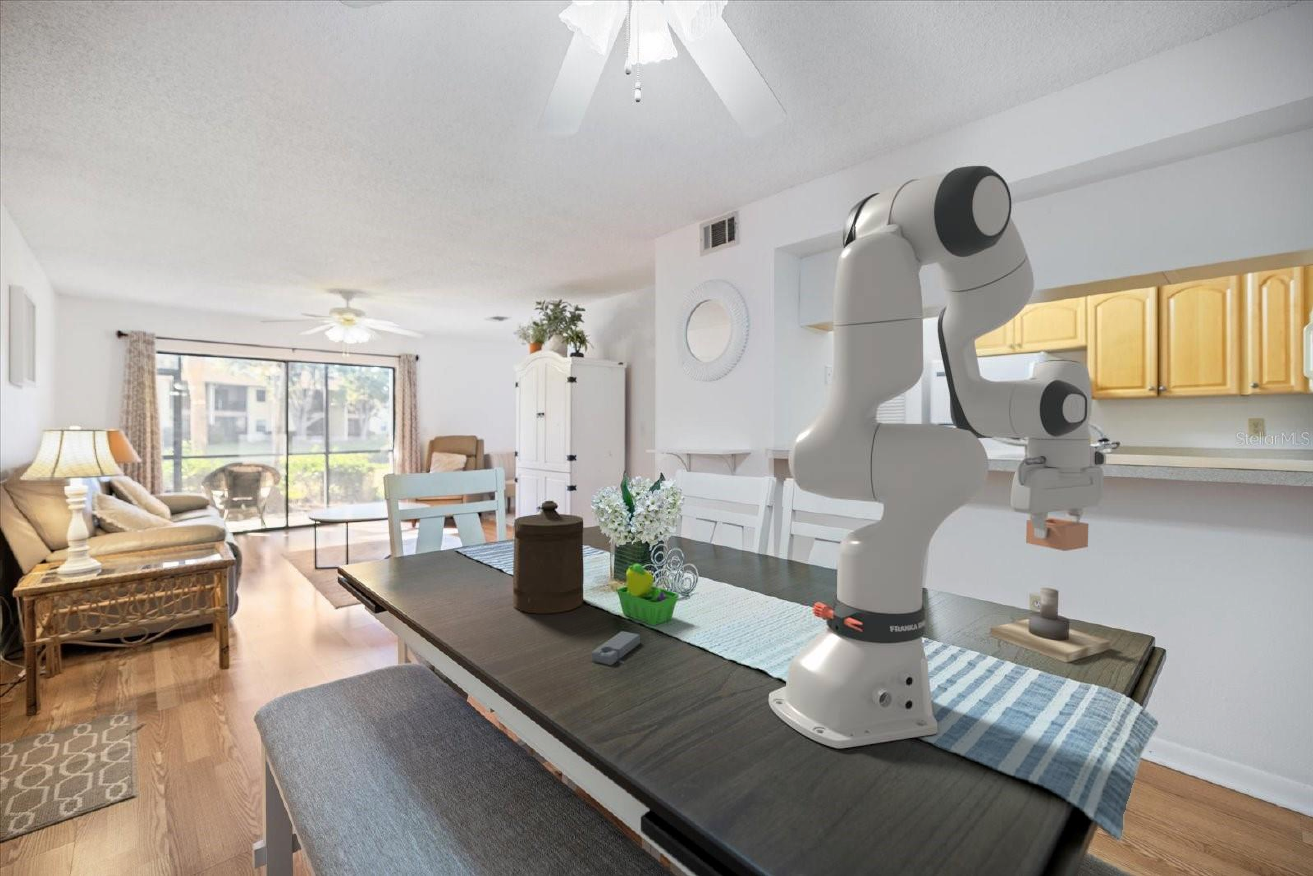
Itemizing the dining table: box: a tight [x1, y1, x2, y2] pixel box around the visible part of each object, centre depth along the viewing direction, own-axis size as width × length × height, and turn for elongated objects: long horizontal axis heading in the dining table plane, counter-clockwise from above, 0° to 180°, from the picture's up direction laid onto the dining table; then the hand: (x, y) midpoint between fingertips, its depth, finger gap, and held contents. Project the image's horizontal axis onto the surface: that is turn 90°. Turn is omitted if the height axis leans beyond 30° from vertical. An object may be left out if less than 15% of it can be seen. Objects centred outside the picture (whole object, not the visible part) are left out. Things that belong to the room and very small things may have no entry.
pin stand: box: [989, 587, 1111, 663], centre depth 102 cm, size 13×13×10 cm
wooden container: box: [512, 500, 585, 615], centre depth 122 cm, size 15×15×22 cm
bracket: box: [590, 630, 641, 666], centre depth 97 cm, size 4×10×2 cm, turn 155°
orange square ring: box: [1025, 517, 1089, 552], centre depth 98 cm, size 6×6×4 cm
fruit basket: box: [616, 563, 680, 626], centre depth 114 cm, size 11×9×11 cm
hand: (1055, 535), depth 99 cm, fingers closed on orange square ring, 6 cm apart
